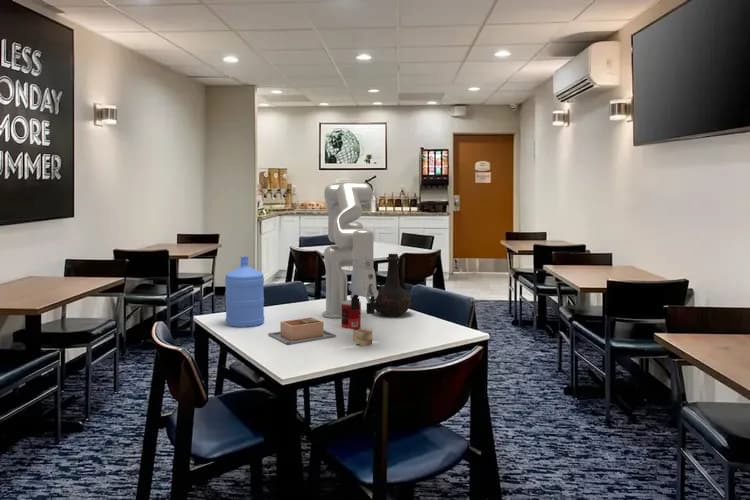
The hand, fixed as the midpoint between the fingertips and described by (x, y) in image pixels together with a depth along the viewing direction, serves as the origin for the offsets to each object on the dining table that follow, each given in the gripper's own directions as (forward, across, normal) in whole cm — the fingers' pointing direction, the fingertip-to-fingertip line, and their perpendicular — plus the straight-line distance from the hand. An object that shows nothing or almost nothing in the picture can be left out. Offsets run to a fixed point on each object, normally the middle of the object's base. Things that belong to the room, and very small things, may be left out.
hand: (362, 311), depth 193 cm
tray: (+12, +19, +15) cm, 27 cm away
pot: (+11, +19, +15) cm, 26 cm away
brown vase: (+11, +34, -39) cm, 53 cm away
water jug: (+11, +54, +23) cm, 59 cm away
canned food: (+12, +22, -9) cm, 26 cm away
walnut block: (+10, +19, +12) cm, 24 cm away
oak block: (+12, 0, 0) cm, 12 cm away
